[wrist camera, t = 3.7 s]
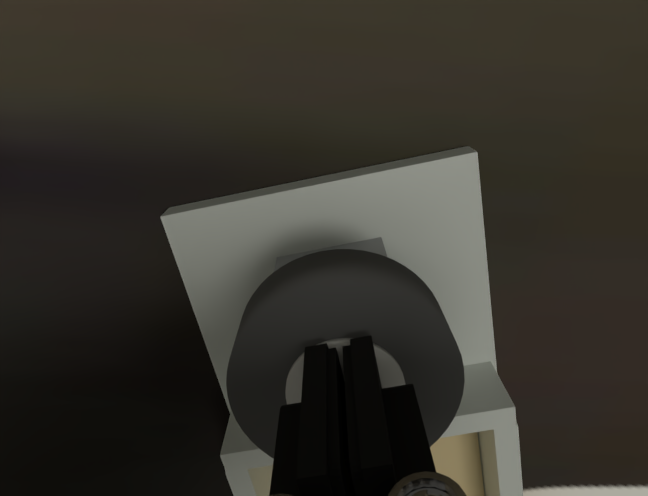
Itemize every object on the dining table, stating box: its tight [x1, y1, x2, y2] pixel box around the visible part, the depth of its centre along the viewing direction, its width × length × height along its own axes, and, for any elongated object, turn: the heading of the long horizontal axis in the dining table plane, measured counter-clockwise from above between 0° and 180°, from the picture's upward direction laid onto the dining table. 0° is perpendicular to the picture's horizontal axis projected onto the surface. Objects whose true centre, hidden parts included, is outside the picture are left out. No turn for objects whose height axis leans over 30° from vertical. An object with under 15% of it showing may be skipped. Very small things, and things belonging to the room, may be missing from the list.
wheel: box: [226, 249, 465, 459], centre depth 14 cm, size 6×6×5 cm
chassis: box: [160, 146, 523, 496], centre depth 18 cm, size 18×10×4 cm, turn 12°
